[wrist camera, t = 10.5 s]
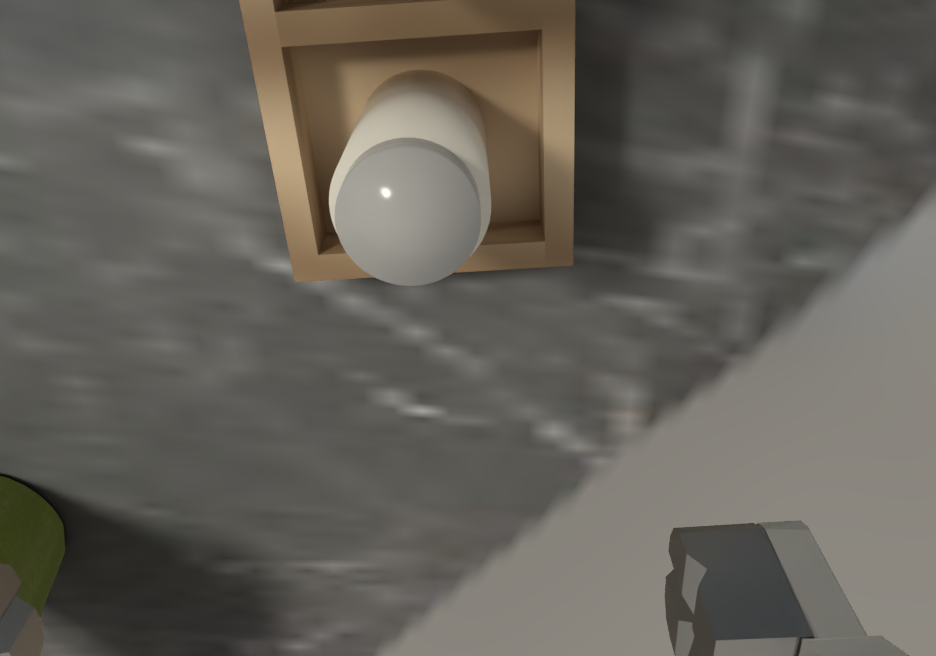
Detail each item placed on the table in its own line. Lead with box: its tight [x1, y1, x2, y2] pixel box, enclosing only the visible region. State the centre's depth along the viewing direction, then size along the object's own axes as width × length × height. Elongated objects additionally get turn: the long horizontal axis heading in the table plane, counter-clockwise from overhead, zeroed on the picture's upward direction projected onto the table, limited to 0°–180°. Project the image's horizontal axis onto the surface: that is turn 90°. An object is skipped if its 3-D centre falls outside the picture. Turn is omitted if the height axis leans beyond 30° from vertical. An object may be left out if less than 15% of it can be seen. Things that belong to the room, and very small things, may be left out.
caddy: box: [239, 0, 575, 282], centre depth 24 cm, size 17×10×3 cm, turn 4°
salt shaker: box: [329, 70, 491, 286], centre depth 23 cm, size 4×4×8 cm
